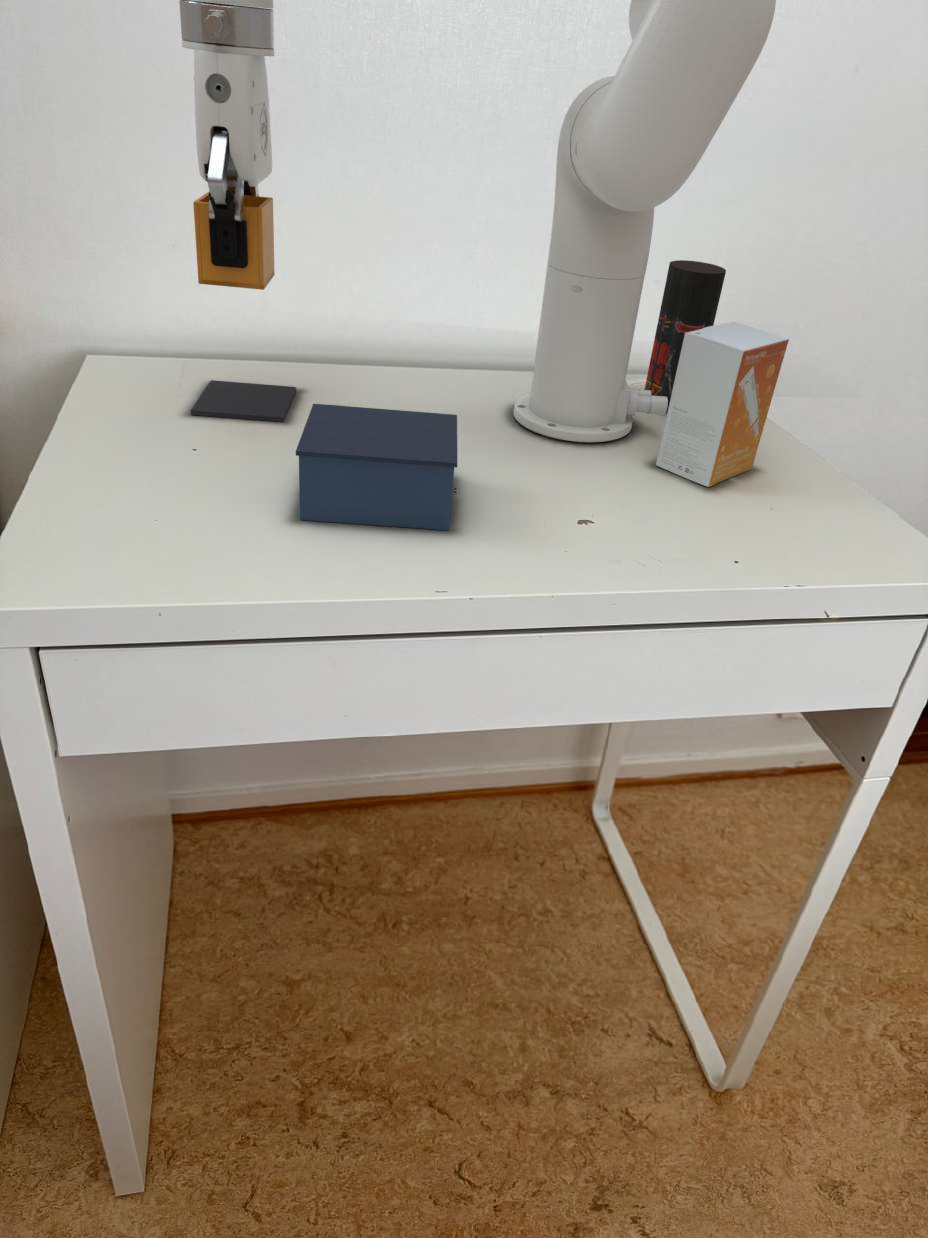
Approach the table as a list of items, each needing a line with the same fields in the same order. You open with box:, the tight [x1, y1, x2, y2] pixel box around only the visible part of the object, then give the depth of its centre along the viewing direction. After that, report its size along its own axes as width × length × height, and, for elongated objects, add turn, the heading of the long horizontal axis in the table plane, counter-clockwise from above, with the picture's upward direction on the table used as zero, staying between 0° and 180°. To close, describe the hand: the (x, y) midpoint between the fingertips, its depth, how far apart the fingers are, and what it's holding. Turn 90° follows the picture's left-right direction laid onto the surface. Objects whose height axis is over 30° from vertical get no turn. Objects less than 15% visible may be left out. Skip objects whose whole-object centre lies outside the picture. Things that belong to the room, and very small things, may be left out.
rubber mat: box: [190, 379, 297, 423], centre depth 93 cm, size 9×9×1 cm
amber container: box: [192, 191, 276, 291], centre depth 85 cm, size 6×6×7 cm
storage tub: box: [295, 403, 458, 531], centre depth 76 cm, size 12×10×6 cm
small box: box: [655, 321, 790, 488], centre depth 86 cm, size 8×6×13 cm
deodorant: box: [643, 259, 727, 413], centre depth 100 cm, size 6×6×15 cm
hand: (237, 256), depth 86 cm, fingers closed on amber container, 6 cm apart
